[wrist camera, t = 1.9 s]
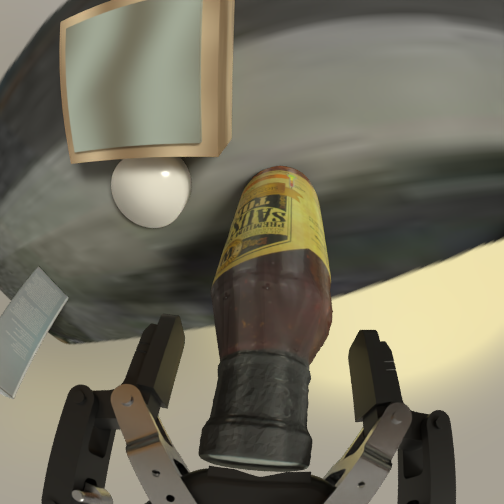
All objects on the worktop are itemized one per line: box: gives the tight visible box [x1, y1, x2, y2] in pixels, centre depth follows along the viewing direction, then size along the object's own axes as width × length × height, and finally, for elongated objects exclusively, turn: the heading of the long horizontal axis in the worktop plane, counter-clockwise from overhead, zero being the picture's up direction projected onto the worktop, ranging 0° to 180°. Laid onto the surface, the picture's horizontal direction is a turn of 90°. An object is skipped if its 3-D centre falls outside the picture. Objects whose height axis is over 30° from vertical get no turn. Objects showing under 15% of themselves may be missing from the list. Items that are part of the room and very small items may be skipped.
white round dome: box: [111, 157, 192, 228], centre depth 22 cm, size 7×7×2 cm
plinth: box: [60, 0, 235, 164], centre depth 15 cm, size 12×12×5 cm
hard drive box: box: [0, 267, 68, 399], centre depth 29 cm, size 16×8×20 cm, turn 122°
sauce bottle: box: [199, 166, 333, 472], centre depth 15 cm, size 7×6×20 cm
